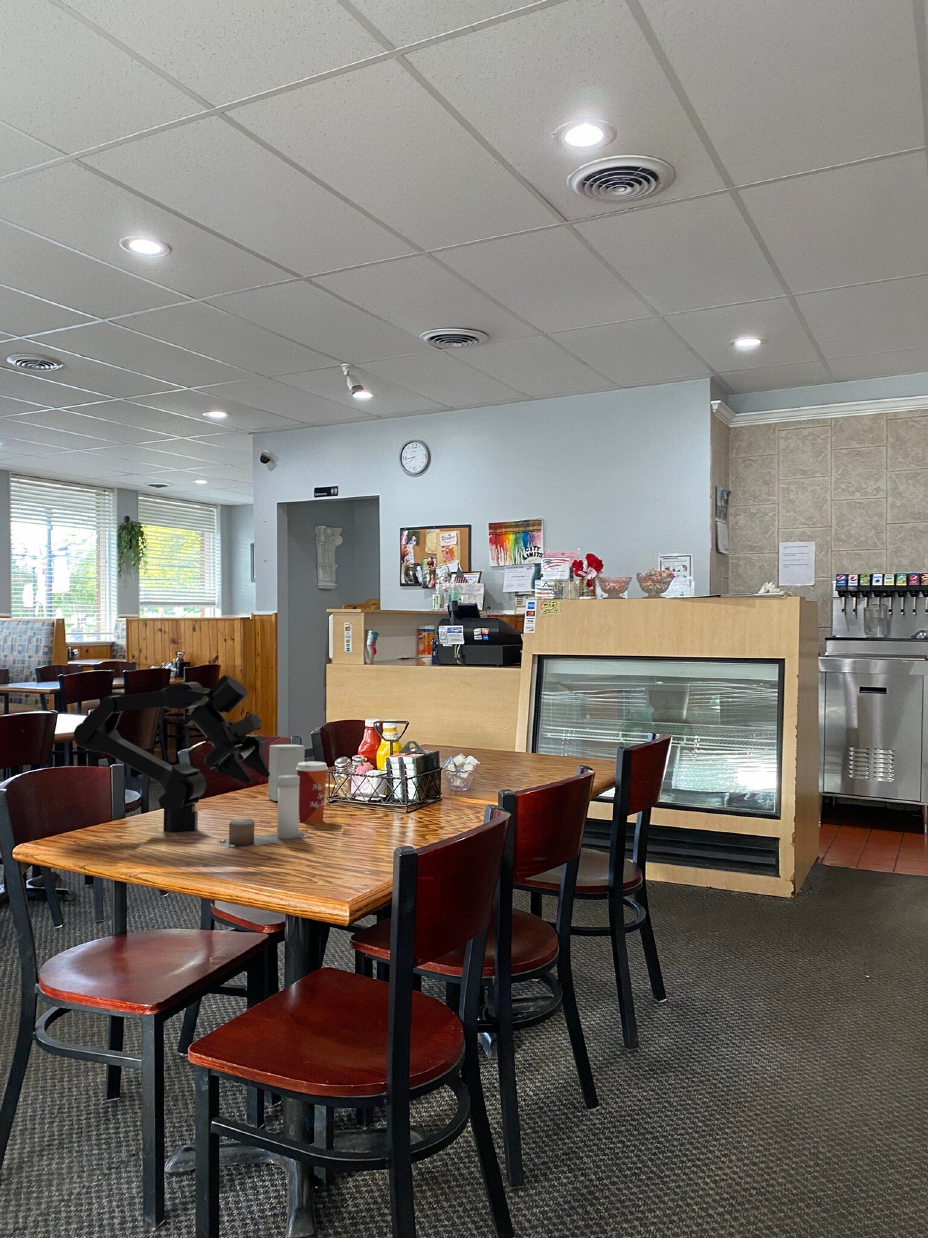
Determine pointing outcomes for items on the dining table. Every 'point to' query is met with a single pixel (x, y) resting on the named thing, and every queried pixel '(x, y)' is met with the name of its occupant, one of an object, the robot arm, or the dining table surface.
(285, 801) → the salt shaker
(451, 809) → the dining table surface
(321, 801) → the paper cup
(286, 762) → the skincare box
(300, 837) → the plate
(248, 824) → the grey short cylinder
